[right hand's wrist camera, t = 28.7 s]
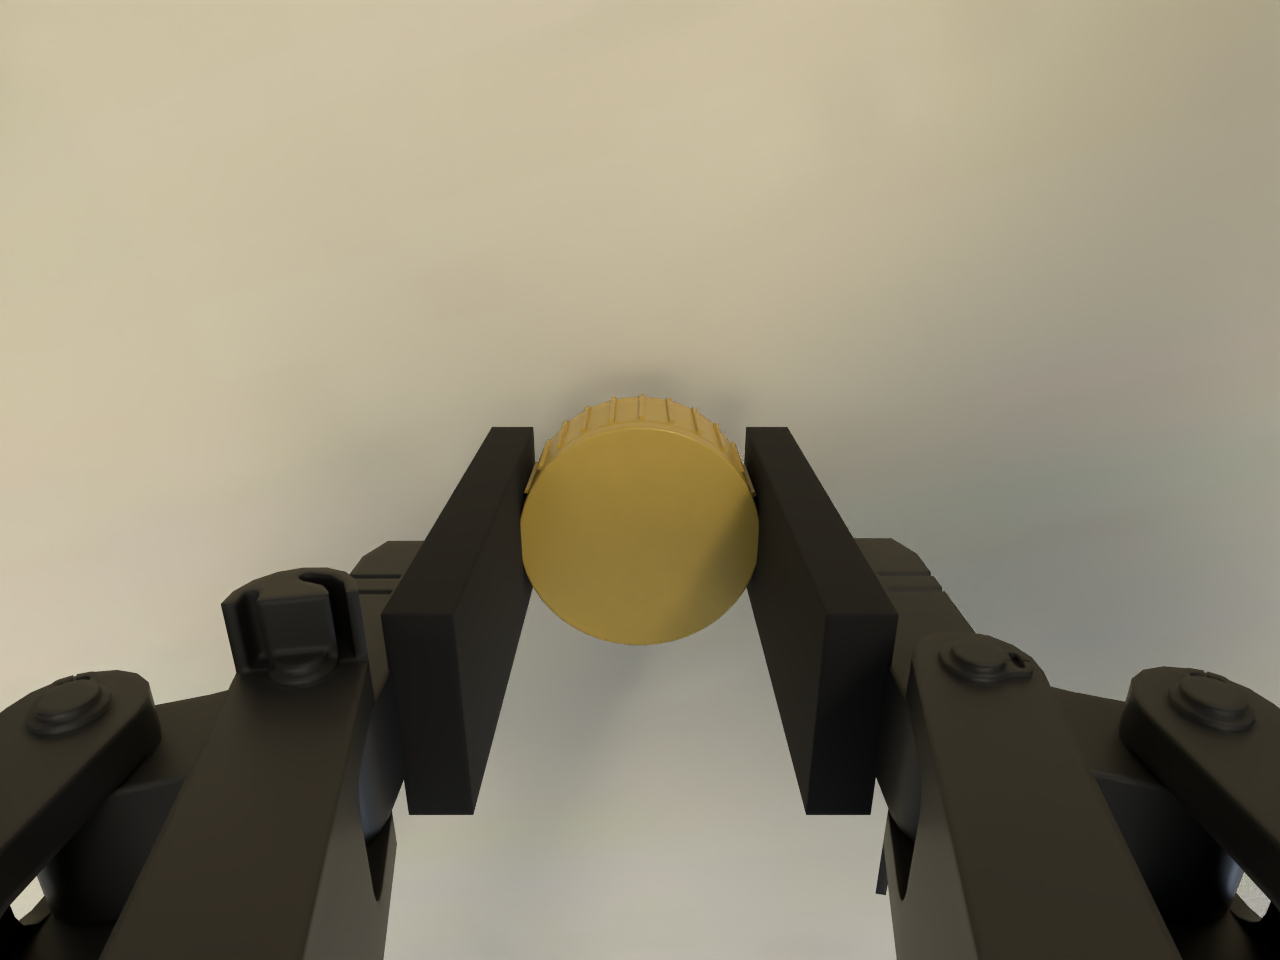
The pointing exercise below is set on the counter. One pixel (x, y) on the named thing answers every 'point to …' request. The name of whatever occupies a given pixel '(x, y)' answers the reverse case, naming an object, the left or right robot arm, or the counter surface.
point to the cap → (639, 522)
